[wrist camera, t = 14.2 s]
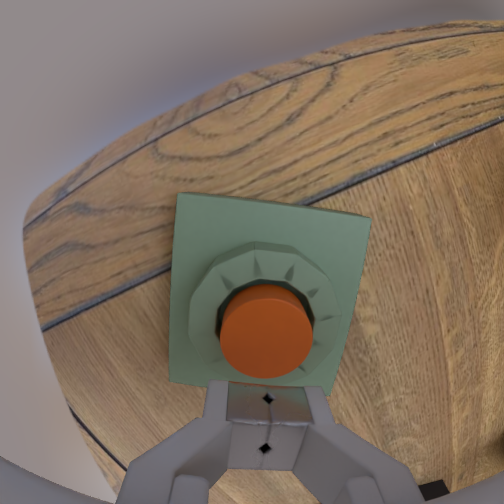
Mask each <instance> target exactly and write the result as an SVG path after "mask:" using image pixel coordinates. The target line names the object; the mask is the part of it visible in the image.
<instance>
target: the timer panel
mask: <svg viewBox="0 0 504 504" xmlns="http://www.w3.org/2000/svg"><path fill="white" fill-rule="evenodd" d="M418 488H419V490H420V492H421V494H422V496H423V498H424V500H425V502H426V501H429V500H432V499H435V498H438V497H441V496H444V495H447V494H450V492H449V491H448V489H447V487H446V485H445V483H444V482H443V480H440V481H436V482H433V483H429V484H425V485H421V486H418Z"/></svg>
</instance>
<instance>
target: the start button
mask: <svg viewBox="0 0 504 504" xmlns="http://www.w3.org/2000/svg"><path fill="white" fill-rule="evenodd" d="M312 341H313V332H312V327H311V324H310V321H309V319H308V317H307V314H306V312H305V310H304V307H303V305H302V303H301V302H300V300H299V299H298V298H297V297H296V296H295V295H294V294H293V293H292V292H291V291H289V290H287V289H285V288H283V287H281V286H277V285H273V284H258V285H253V286H250V287H248V288H246V289H244V290H242V291H240V292H239V293H237V294H236V295H235V296H234V297H233V298H232V299H231V300H230V302H229V303H228V305H227V307H226V309H225V312H224V316H223V321H222V327H221V332H220V347H221V350H222V353H223V355H224V357H225V358H226V360H227V361H228V362H229V364H230V365H231V366H232V367H233V368H235V369H236V370H237V371H239V372H241V373H243V374H245V375H247V376H250V377H254V378H260V379H269V378H276V377H280V376H283V375H285V374H288V373H290V372H291V371H293V370H294V369H296V368H297V367H298V366H299V365H300V364H302V362H303V361H304V360H305V359H306V357H307V356H308V354H309V352H310V349H311V346H312Z"/></svg>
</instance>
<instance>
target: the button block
mask: <svg viewBox="0 0 504 504" xmlns="http://www.w3.org/2000/svg"><path fill="white" fill-rule="evenodd" d="M371 221H372V219H371V218H369V217H366V216H363V215H360V214H356V213H350V212H344V211H337V210H331V209H324V208H318V207H311V206H304V205H297V204H290V203H282V202H275V201H267V200H259V199H251V198H242V197H234V196H225V195H215V194H206V193H196V192H182V193H178V194H177V202H176V212H175V224H174V237H173V251H172V267H171V286H170V312H169V382H174V383H180V384H186V385H193V386H200V387H207V386H208V381H209V379H215V380H224V381H228V383H229V381H233V382H242V383H252V384H263V385H273V386H299V387H302V386H321V387H322V388H323V391H324V393H325V396H330V394H331V391H332V387H333V384H334V381H335V378H336V374H337V371H338V368H339V364H340V361H341V357H342V354H343V350H344V346H345V343H346V339H347V335H348V331H349V327H350V323H351V319H352V315H353V311H354V307H355V303H356V298H357V294H358V289H359V285H360V280H361V275H362V271H363V266H364V261H365V255H366V250H367V245H368V239H369V233H370V227H371ZM258 284H273V285H277V286H281V287H283V288H285V289H287V290H289V291H291V292H292V293H293V294H294V295H295V296H296V297H297V298H298V299H299V300H300V302H301V303H302V305H303V307H304V310H305V312H306V314H307V317H308V319H309V321H310V324H311V327H312V332H313V341H312V346H311V349H310V352H309V354H308V356H307V357H306V359H305V360H304V361H303V362H302V364H300V365H299V366H298V367H297V368H296V369H294V370H293V371H291V372H290V373H288V374H285V375H283V376H280V377H276V378H269V379H260V378H254V377H250V376H247V375H245V374H243V373H241V372H239V371H237V370H236V369H235V368H233V367H232V366H231V365H230V364H229V362H228V361H227V360H226V358H225V357H224V355H223V353H222V350H221V347H220V332H221V327H222V321H223V316H224V312H225V309H226V307H227V305H228V303H229V302H230V300H231V299H232V298H233V297H234V296H235V295H236V294H237V293H239V292H240V291H242V290H244V289H246V288H248V287H250V286H253V285H258ZM228 385H229V384H228Z"/></svg>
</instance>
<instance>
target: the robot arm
mask: <svg viewBox="0 0 504 504" xmlns="http://www.w3.org/2000/svg"><path fill="white" fill-rule="evenodd" d="M228 384H229V385H228ZM227 468H228V469H252V470H279V471H292V472H293V473H294V475H295V476H296V477H297V478H298V479H299V480H300V481H301V482H302V483H303V485H304V486H305V487H306V488H307V489H308V490H309V491H310V492H311V493H312V494H313V495H314V496H315V497H316V498H317V500H318V501H319V502H320V503H321V504H504V470H503V471H501V472H499V473H497V474H495V475H493V476H491V477H489V478H487V479H484V480H482V481H480V482H478V483H475V484H473V485H471V486H468V487H466V488H463V489H460V490H458V491H455V492H453V493H450V494H447V495H444V496H441V497H438V498H435V499H432V500H429V501H426V502H425V500H424V498H423V496H422V494H421V492H420V490H419V488H418V486H417V484H416V482H415V480H414V478H413V476H412V474H411V472H410V470H409V468H408V467H407V466H405V465H404V464H402V463H400V462H399V461H397V460H396V459H394V458H392V457H391V456H389V455H388V454H386V453H384V452H383V451H381V450H380V449H378V448H377V447H375V446H373V445H372V444H370V443H369V442H367V441H366V440H364V439H363V438H361V437H360V436H358V435H357V434H355V433H354V432H352V431H351V430H349V429H348V428H346V427H345V426H343V425H342V424H336V423H335V421H334V418H333V415H332V412H331V410H330V407H329V404H328V402H327V399H326V396H325V393H324V391H323V388H322V387H321V386H302V387H299V386H273V385H263V384H252V383H242V382H233V381H229V383H228V381H224V380H215V379H209V381H208V386H207V392H206V398H205V404H204V410H203V416H202V418H195V419H194V420H192V421H191V422H189V423H188V424H187V425H185V426H184V427H182V428H181V429H179V430H178V431H177V432H175V433H174V434H172V435H171V436H169V437H168V438H166V439H165V440H163V441H162V442H160V443H159V444H157V445H156V446H154V447H153V448H151V449H150V450H148V451H147V452H145V453H144V454H142V455H141V456H139V457H137V458H136V459H134V460H133V461H131V462H130V464H129V467H128V469H127V472H126V475H125V478H124V481H123V483H122V486H121V489H120V492H119V495H118V498H117V500H116V503H115V504H208V495H209V489H210V488H211V487H212V486H213V485H214V484H215V483H216V482H217V481H218V479H219V478H220V477H221V476H222V475H223V474H224V473H225V472H226V471H227ZM0 504H113V503H109V502H106V501H103V500H100V499H97V498H94V497H91V496H88V495H85V494H82V493H79V492H77V491H73V490H71V489H69V488H66V487H63V486H61V485H59V484H56V483H54V482H51V481H49V480H47V479H45V478H42V477H40V476H38V475H36V474H34V473H32V472H29V471H27V470H25V469H23V468H21V467H19V466H17V465H15V464H14V463H12V462H10V461H8V460H6V459H4V458H3V457H1V456H0Z"/></svg>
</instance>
